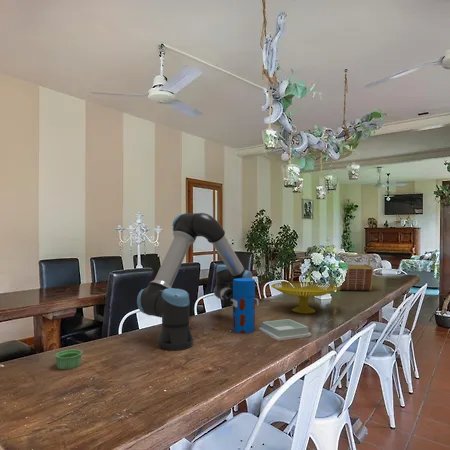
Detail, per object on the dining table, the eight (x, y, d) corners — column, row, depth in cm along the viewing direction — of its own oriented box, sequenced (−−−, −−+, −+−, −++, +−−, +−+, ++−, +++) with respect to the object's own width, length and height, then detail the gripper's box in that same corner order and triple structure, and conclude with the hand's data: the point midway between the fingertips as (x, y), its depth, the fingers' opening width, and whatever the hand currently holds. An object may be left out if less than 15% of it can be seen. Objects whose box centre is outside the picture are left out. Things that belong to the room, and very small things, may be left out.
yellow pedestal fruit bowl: (322, 322, 191) (322, 294, 191) (258, 311, 215) (258, 287, 215) (347, 309, 223) (347, 285, 223) (289, 301, 247) (289, 279, 248)
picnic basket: (365, 287, 309) (365, 253, 309) (375, 292, 283) (375, 255, 284) (331, 286, 312) (331, 252, 312) (337, 291, 286) (337, 254, 286)
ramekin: (86, 365, 129) (86, 353, 130) (60, 372, 123) (60, 359, 123) (76, 359, 136) (76, 347, 136) (51, 365, 130) (51, 353, 130)
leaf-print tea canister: (253, 333, 169) (253, 281, 170) (231, 332, 171) (231, 280, 172) (255, 327, 180) (255, 278, 180) (235, 326, 182) (235, 277, 182)
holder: (278, 340, 159) (278, 331, 159) (259, 330, 176) (259, 321, 176) (311, 336, 166) (311, 327, 166) (290, 326, 182) (290, 318, 183)
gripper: (248, 300, 197) (268, 309, 177) (209, 304, 188) (225, 313, 168) (248, 287, 197) (268, 294, 177) (209, 289, 188) (225, 297, 168)
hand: (247, 303), depth 172 cm, fingers closed on leaf-print tea canister, 11 cm apart
